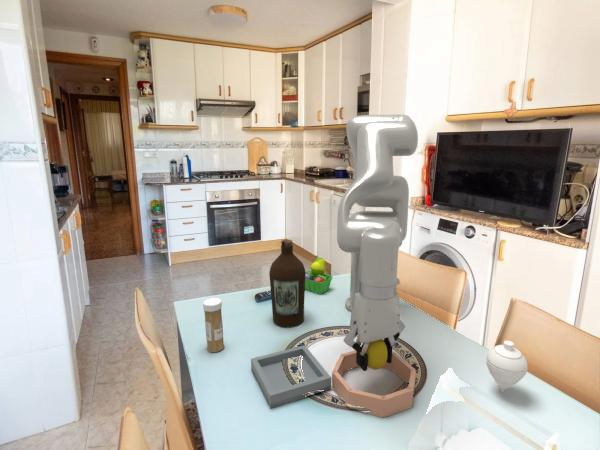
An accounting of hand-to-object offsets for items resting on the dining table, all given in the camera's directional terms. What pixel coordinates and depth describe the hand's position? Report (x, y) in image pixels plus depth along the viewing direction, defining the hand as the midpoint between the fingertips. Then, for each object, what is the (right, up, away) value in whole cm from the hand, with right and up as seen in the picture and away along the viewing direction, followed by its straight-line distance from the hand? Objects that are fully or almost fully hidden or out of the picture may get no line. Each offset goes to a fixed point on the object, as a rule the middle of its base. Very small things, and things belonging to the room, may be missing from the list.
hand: (374, 362), depth 80 cm
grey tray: (-19, -5, +3) cm, 20 cm away
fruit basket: (-11, +7, +53) cm, 55 cm away
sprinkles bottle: (-39, -2, +16) cm, 42 cm away
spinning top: (+27, -6, -2) cm, 28 cm away
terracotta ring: (0, -5, 0) cm, 5 cm away
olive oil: (-20, +1, +30) cm, 36 cm away
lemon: (0, -2, 0) cm, 2 cm away
